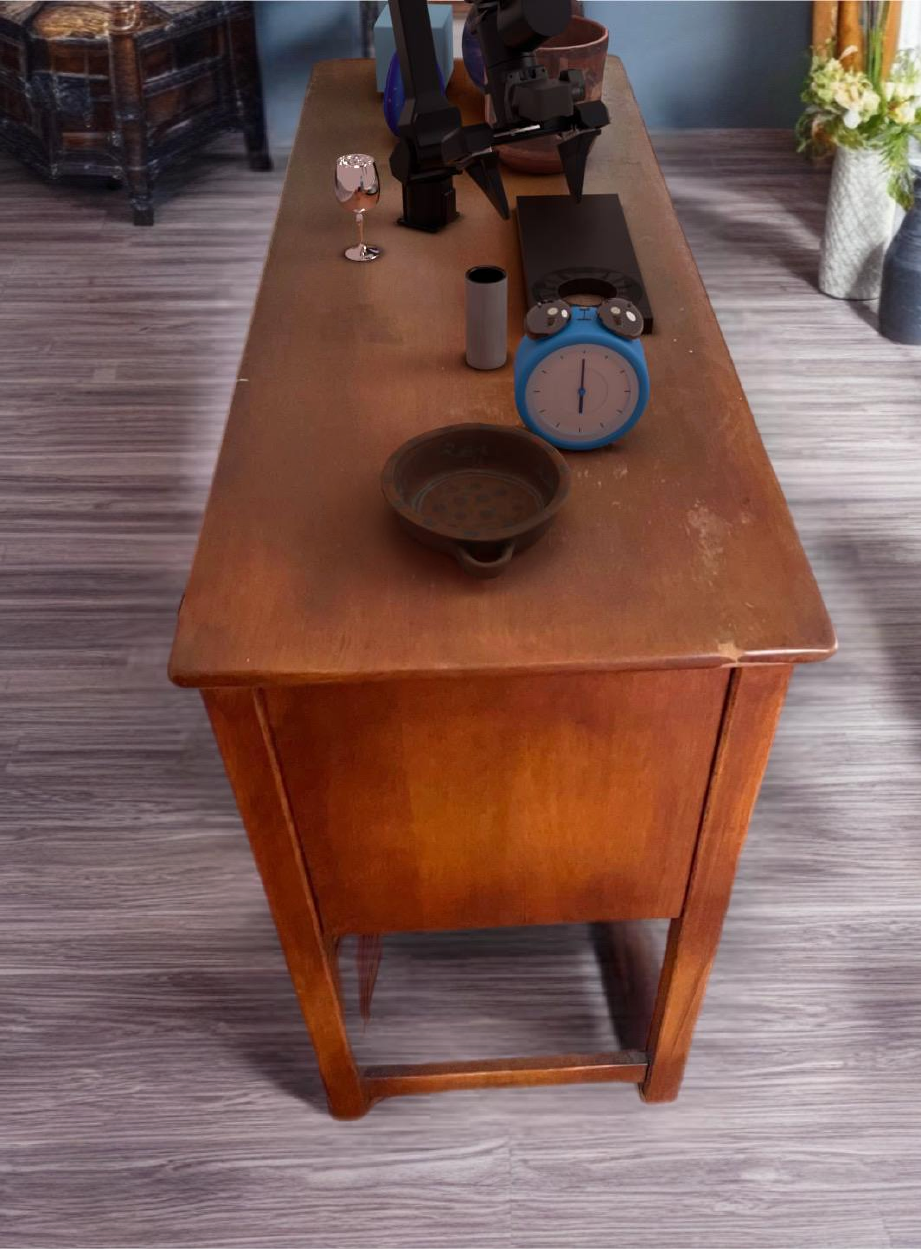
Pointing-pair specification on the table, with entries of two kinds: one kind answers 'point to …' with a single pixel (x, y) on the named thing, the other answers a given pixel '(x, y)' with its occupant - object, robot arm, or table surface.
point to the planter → (486, 316)
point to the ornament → (397, 95)
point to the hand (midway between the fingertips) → (542, 211)
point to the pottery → (568, 50)
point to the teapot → (441, 35)
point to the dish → (476, 491)
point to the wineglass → (357, 195)
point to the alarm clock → (581, 373)
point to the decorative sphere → (473, 50)
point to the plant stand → (579, 250)
